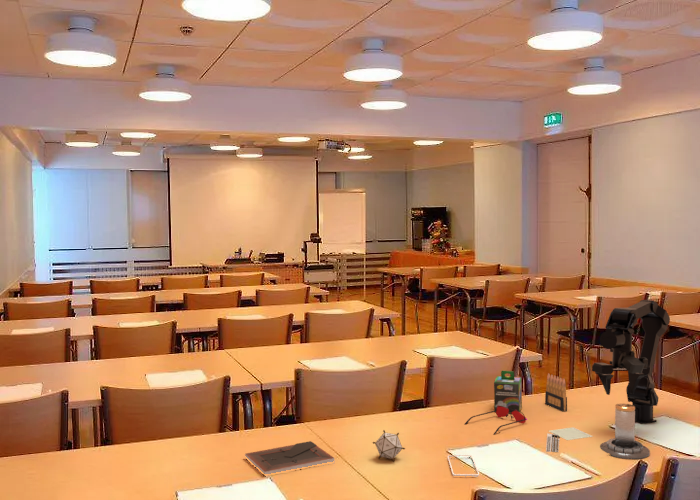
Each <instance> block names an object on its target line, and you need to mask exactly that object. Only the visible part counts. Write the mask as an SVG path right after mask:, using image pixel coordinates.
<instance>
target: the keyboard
mask: <svg viewBox="0 0 700 500" xmlns="http://www.w3.org/2000/svg"><path fill="white" fill-rule="evenodd" d="M560 438H561V437H560V436H557V435H555V434H553V433H548V432H547V433H546V448H545V452H546V453H547V452H548V453H559V450H560V440H561V439H560Z"/></svg>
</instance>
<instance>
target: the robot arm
mask: <svg viewBox="0 0 700 500" xmlns="http://www.w3.org/2000/svg"><path fill="white" fill-rule="evenodd" d="M639 319H641V326H642V329H643V331H644V337H643V341H642V346H641V351H640V355H639V357H635V351H633V349H632V346H633V344H632V343H633V334H634V333H635V330H634V327H635V326H636V325H637V324H638V320H639ZM670 323H671V317H670V315H669V314H668V312H667V310H666V309H665V308H663V307H662V306H660V305H659V304H658V302H657V301H655V300H652V299H651V300H650V299H641V300H640V301H639V302H636V303H634V304H632V305H630V306H628V307H614V308H613V309H612V311H611V312H610V314H609V317H608V319H607V322H606V325H605V327H604V328H605V331H603V332H602V333H601V334H600V336H599V343H600V345H601V347H603V348H604V349H606V350H609V353H612V359H611V360H609V364H608V363H605V362H594V363H593V364H592V365H591V371H592V372H595V373H594V374H595V375H597V376H598V378H599V379H600V382H601V384H602V387H603V388H604V391H605V393H606V395H608V396H610V395H611V389H612V388H611V385H612V379H613V377H614V376H615V375H614V374H613V373H614V372H627V373H628V374H627V375H628V376H627V377H628V384H627V385H626V390H625V392H626V398H627V402H629V403H632V404H631V405H633V406H635V423H636V422H637V423H639V424H649V423H656V422H657V419H654V406H655V407H657V406H658V404H659V403H658V402H659V396H658V395H657V392H656V390H655V382H654V380H653V378H652V377H653V370H654V365H655V361H656V355H657V352H658V346H659V341H660V338H661V337H662V335H664V334H665V333H666V332H667V329H668V326H669V325H670Z"/></svg>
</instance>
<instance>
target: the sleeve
mask: <svg viewBox="0 0 700 500" xmlns="http://www.w3.org/2000/svg"><path fill="white" fill-rule="evenodd" d="M614 413H615V415H614V418H615V419H614V424H615V425H614V426H615V427H614V438H615V446H618V447H623V448H634V447H635V441H636V440H635V436H636V435H635V431H636V430H635V429H636V428H635V427H636V421H635V406H633V405H632V404H629V403H616V404H615V411H614Z"/></svg>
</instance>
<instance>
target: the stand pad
mask: <svg viewBox="0 0 700 500" xmlns="http://www.w3.org/2000/svg"><path fill="white" fill-rule="evenodd" d="M548 432H549V433H550V434H555V435H557V437H558V436H560V438H562V439H564V440H566V441H573V440H579V439H587V438H592V437H594V436H593V435H592V434H589V433H586V432H584V431H583V430H580V429H578V428H576V427H565V428H559V429H552V430H548Z"/></svg>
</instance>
